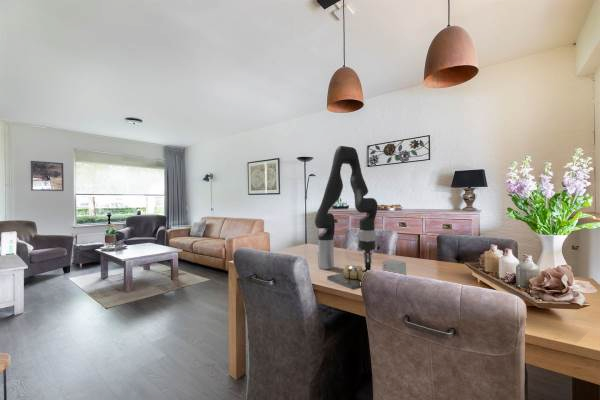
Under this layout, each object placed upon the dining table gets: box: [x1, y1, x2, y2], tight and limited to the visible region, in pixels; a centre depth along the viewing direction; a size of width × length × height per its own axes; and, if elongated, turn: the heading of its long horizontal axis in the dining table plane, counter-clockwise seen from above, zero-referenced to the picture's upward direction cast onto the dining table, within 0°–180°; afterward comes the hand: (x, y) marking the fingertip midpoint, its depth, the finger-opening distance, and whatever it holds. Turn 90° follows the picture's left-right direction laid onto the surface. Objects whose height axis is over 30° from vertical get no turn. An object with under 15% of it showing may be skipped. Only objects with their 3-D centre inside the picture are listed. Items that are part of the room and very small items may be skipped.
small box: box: [382, 259, 407, 276], centre depth 116 cm, size 8×6×13 cm
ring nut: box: [342, 265, 366, 280], centre depth 131 cm, size 18×10×4 cm, turn 32°
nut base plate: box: [326, 265, 361, 290], centre depth 132 cm, size 18×17×6 cm
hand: (368, 275), depth 126 cm, fingers closed
